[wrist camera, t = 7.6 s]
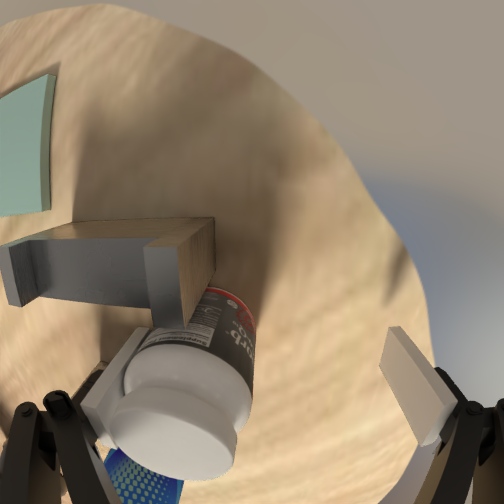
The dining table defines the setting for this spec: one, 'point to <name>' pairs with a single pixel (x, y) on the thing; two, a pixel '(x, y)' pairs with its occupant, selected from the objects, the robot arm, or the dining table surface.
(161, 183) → the dining table surface
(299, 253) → the dining table surface
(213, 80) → the dining table surface
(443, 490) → the robot arm
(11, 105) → the coaster
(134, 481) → the beer can
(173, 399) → the pill bottle
